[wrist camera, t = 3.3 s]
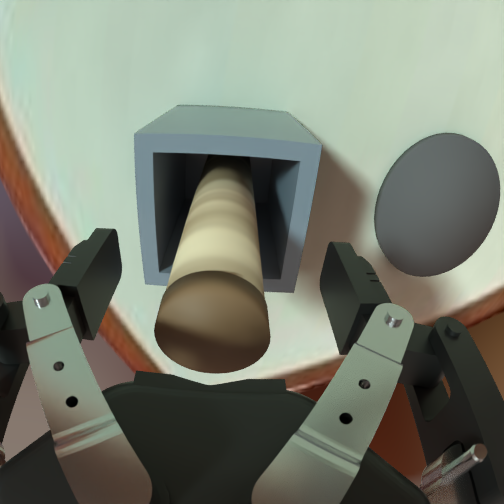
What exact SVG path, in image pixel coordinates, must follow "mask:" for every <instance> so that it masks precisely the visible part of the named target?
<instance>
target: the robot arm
mask: <svg viewBox="0 0 504 504" xmlns="http://www.w3.org/2000/svg"><path fill="white" fill-rule="evenodd" d="M121 273H122V262H121V256H120V249H119V242H118V235H117V231H116V230H115V229H106V228H96V229H95V230H94V232H93V233H92V235H91V236H90V237H89V239H88V240H83V241H82V242H81V243H79V244H78V245H76V246H75V247H74V248H73V249H72V250H71V252H70V253H69V255H68V257H66V259H65V260H64V262H63V263H62V264H61V266H60V267H59V269H58V270H57V271H56V273H55V274H54V276H53V277H52V279H51V280H50V282H49V283H48V284H43V285H39V286H36V287H34V288H32V289H31V290H30V291H28V293H26V295H25V297H24V299H23V301H17V302H10V303H6V302H5V299H4V297H3V295H2V294H1V292H0V504H504V401H503V398H502V396H501V394H500V392H499V390H498V388H497V386H496V384H495V382H494V379H493V377H492V375H491V373H490V371H489V369H488V367H487V365H486V363H485V361H484V360H483V357H482V356H481V354H480V352H479V350H478V348H477V346H476V344H475V343H474V341H473V339H472V337H471V335H470V334H469V332H468V330H467V329H466V327H465V326H464V325H463V324H462V323H461V322H459V321H458V320H456V319H454V318H451V317H440V318H439V319H438V320H437V321H436V323H435V325H434V326H433V327H430V326H425V325H421V324H417V323H414V320H413V317H412V316H411V314H410V313H409V312H408V311H407V310H406V309H404V308H403V307H401V306H399V305H396V304H392V302H391V300H390V299H389V297H388V295H387V293H386V291H385V289H384V287H383V286H382V284H381V282H379V278H378V277H377V275H375V274H376V273H375V271H374V269H373V268H372V266H371V264H370V263H368V262H367V261H366V260H365V259H364V258H363V257H361V256H357V255H356V253H355V251H354V249H353V248H352V246H351V244H350V243H342V242H330V243H329V245H328V248H327V252H326V256H325V260H324V264H323V268H322V272H321V276H320V291H321V294H322V297H323V301H324V304H325V307H326V310H327V313H328V317H329V320H330V323H331V326H332V330H333V333H334V336H335V340H336V343H337V347H338V350H339V353H340V355H347V356H346V358H345V360H344V361H343V363H342V365H341V366H340V368H339V370H338V371H337V373H336V374H335V376H334V378H333V379H332V381H331V382H330V384H329V385H328V387H327V389H326V390H325V392H324V393H323V395H322V396H321V398H320V399H319V401H318V402H315V401H314V400H312V399H310V398H308V397H306V396H304V395H302V394H299V393H296V392H293V391H289V390H286V384H285V379H246V380H240V381H235V382H229V383H223V384H217V385H205V384H201V383H198V382H194V381H191V380H188V379H184V378H181V377H178V376H175V375H171V374H161V373H152V372H143V371H136V374H135V378H134V381H130V382H125V383H121V384H117V385H114V386H112V387H109V388H107V389H105V390H103V391H102V392H101V390H100V388H99V386H98V384H97V382H96V380H95V377H94V375H93V373H92V371H91V369H90V367H89V364H88V362H87V360H86V357H85V355H84V353H83V350H82V348H81V345H80V343H81V341H82V339H87V340H94V339H95V336H96V334H97V331H98V329H99V327H100V324H101V322H102V319H103V317H104V315H105V312H106V310H107V308H108V305H109V303H110V301H111V299H112V296H113V294H114V292H115V290H116V287H117V285H118V283H119V281H120V278H121ZM29 364H31V369H32V373H33V377H34V380H35V384H36V388H37V391H38V394H39V398H40V401H41V405H42V408H43V411H44V414H45V417H46V419H47V423H48V426H49V428H50V430H49V431H48V432H46V433H45V434H44V435H43V436H41V437H40V438H38V439H37V440H36V441H34V442H33V443H32V444H30V445H29V446H28V447H26V448H25V449H24V450H22V451H21V452H19V453H18V454H17V455H15V456H14V457H13V458H11V459H10V460H9V461H7V462H6V461H5V451H4V448H3V445H2V442H3V438H4V435H5V431H6V428H7V425H8V422H9V418H10V415H11V412H12V409H13V406H14V403H15V401H16V398H17V395H18V392H19V390H20V387H21V384H22V381H23V379H24V376H25V374H26V371H27V369H28V366H29ZM444 376H445V377H446V379H447V382H448V384H449V387H450V390H451V395H450V399H449V397H448V394H447V392H446V389H445V387H444V384H443V381H442V379H443V377H444ZM396 383H402V384H404V387H405V390H406V393H407V396H408V399H409V402H410V406H411V409H412V412H413V416H414V419H415V423H416V426H417V429H418V433H419V437H420V440H421V444H422V448H423V452H424V456H425V460H426V464H427V467H426V468H425V470H424V471H423V474H422V480H421V481H422V484H421V485H420V488H418V487H417V486H416V485H415V484H414V483H412V482H411V481H410V480H408V479H407V478H406V477H405V476H403V475H402V474H401V473H400V472H398V471H397V470H396V469H395V468H394V467H392V466H391V465H390V464H389V463H387V462H386V461H385V460H384V459H382V458H381V457H380V456H379V455H378V454H376V453H375V452H374V451H373V450H372V449H371V448H369V447H368V446H369V444H370V442H371V440H372V437H373V436H374V434H375V432H376V430H377V427H378V426H379V423H380V421H381V419H382V417H383V414H384V412H385V410H386V408H387V405H388V403H389V401H390V398H391V396H392V393H393V391H394V388H395V386H396Z"/></svg>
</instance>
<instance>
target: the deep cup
mask: <svg viewBox="0 0 504 504" xmlns="http://www.w3.org/2000/svg"><path fill="white" fill-rule="evenodd" d="M321 149H322V144H321V143H320V142H319V141H318V140H317V139H316V138H315V137H314V136H313V135H312V134H311V133H310V132H309V131H307V130H306V129H305V128H304V127H303V126H302V125H301V124H300V123H299V122H298V121H297V120H296V119H295V118H294V117H293V116H292V115H291V114H290V113H288V112H284V111H275V110H265V109H254V108H241V107H226V106H204V105H177V106H176V107H174V108H172V109H171V110H169V111H168V112H166V113H165V114H163V115H161V116H160V117H158V118H157V119H155V120H154V121H152V122H151V123H149V124H148V125H146V126H145V127H143V128H142V129H140V130H139V131H137V132H136V133H134V152H135V177H136V195H137V210H138V222H139V233H140V244H141V253H142V262H143V271H144V278H145V284H149V285H162V286H167V285H168V281H169V278H170V274H171V270H172V267H173V263H174V260H175V256H176V253H177V250H178V246H179V243H180V240H181V236H182V233H183V230H184V226H185V223H186V220H187V217H188V214H189V211H190V207H191V204H192V201H193V198H194V195H195V192H196V189H197V186H198V183H199V180H200V177H201V174H202V171H203V168H204V165H205V162H206V160H207V157H208V154H219V155H236V156H250V163H251V172H252V181H253V191H254V200H255V210H256V219H257V229H258V238H259V248H260V258H261V267H262V277H263V287H264V292H286V293H294V290H295V285H296V281H297V276H298V271H299V266H300V262H301V257H302V252H303V247H304V242H305V237H306V232H307V227H308V222H309V217H310V211H311V206H312V201H313V195H314V190H315V184H316V178H317V173H318V167H319V161H320V155H321Z"/></svg>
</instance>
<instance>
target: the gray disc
mask: <svg viewBox="0 0 504 504" xmlns="http://www.w3.org/2000/svg"><path fill="white" fill-rule="evenodd" d="M499 201H500V181H499V175H498V171H497V168H496V165H495V163H494V161H493V159H492V157H491V156H490V155H489V153H488V152H487V151H486V150H485V149H484V148H483V147H482V146H481V145H480V144H479V143H477V142H476V141H474V140H472V139H470V138H468V137H465V136H463V135H459V134H455V133H441V134H436V135H432V136H429V137H427V138H424V139H422V140H420V141H419V142H417V143H415V144H414V145H412V146H411V147H410V148H409V149H407V150H406V151H405V152H404V153H403V154H402V155H401V156H400V157H399V158H398V159H397V161H396V162H395V163H394V165H393V166H392V167H391V169H390V170H389V172H388V174H387V175H386V177H385V179H384V181H383V183H382V186H381V188H380V191H379V194H378V197H377V201H376V206H375V216H374V223H375V232H376V237H377V240H378V243H379V245H380V247H381V249H382V251H383V253H384V254H385V256H386V257H387V259H388V260H389V261H390V263H391V264H393V265H394V266H395V267H396V268H397V269H399V270H400V271H402V272H404V273H406V274H409V275H413V276H420V277H426V276H434V275H438V274H442V273H445V272H447V271H449V270H452V269H453V268H455V267H457V266H459V265H460V264H462V263H463V262H464V261H466V260H467V259H468V258H469V257H470V256H471V255H472V254H473V253H474V252H475V251H476V250H477V249H478V248H479V247H480V245H481V244H482V243H483V241H484V240H485V238H486V237H487V235H488V233H489V232H490V230H491V228H492V225H493V223H494V221H495V218H496V215H497V211H498V207H499Z"/></svg>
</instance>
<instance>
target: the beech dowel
mask: <svg viewBox="0 0 504 504" xmlns="http://www.w3.org/2000/svg"><path fill="white" fill-rule="evenodd" d="M154 333H155V338H156V341H157V344H158V346H159V347H160V349H161V350H162V351H163V352H164V354H165V355H167V356H168V357H169V358H170V359H171V360H173V361H174V362H176V363H178V364H179V365H181V366H183V367H186V368H188V369H191V370H195V371H199V372H204V373H229V372H234V371H238V370H241V369H244V368H246V367H248V366H250V365H252V364H254V363H255V362H257V361H258V360H259V359H260V358H261V357H262V356H263V355H264V354H265V352H266V351H267V349H268V347H269V343H270V329H269V319H268V310H267V304H266V301H265V297H264V287H263V277H262V267H261V258H260V248H259V238H258V229H257V219H256V210H255V200H254V191H253V181H252V172H251V163H250V156H236V155H219V154H208V157H207V160H206V162H205V165H204V168H203V171H202V174H201V177H200V180H199V183H198V186H197V189H196V192H195V195H194V198H193V201H192V204H191V207H190V211H189V214H188V217H187V220H186V223H185V226H184V230H183V233H182V236H181V240H180V243H179V246H178V250H177V253H176V256H175V260H174V263H173V267H172V270H171V274H170V278H169V281H168V285H167V288H166V291H165V293H164V295H163V297H162V300H161V304H160V308H159V311H158V315H157V319H156V323H155V328H154Z"/></svg>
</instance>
